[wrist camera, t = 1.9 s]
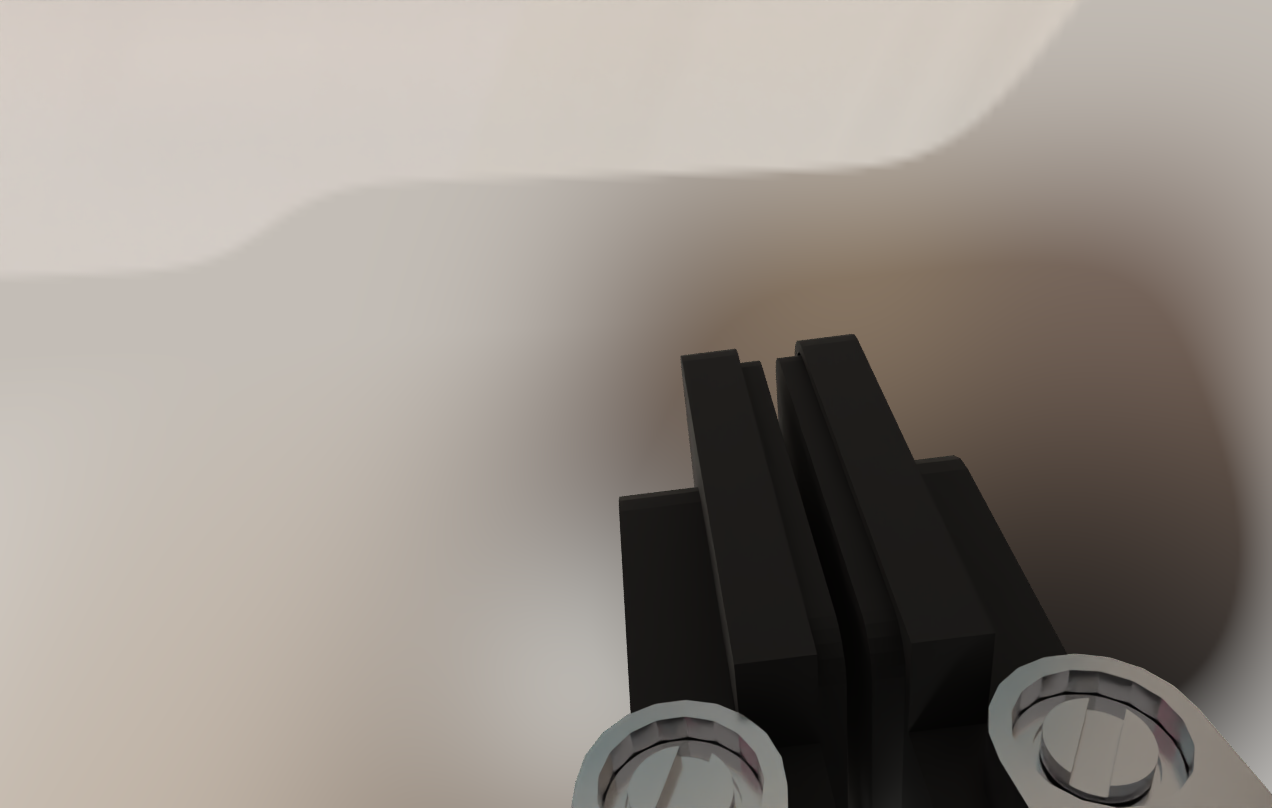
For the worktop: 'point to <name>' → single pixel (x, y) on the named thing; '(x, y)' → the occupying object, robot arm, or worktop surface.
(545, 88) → the worktop surface
